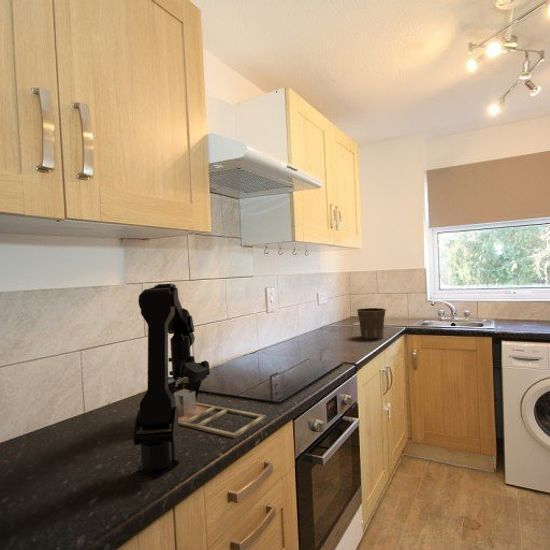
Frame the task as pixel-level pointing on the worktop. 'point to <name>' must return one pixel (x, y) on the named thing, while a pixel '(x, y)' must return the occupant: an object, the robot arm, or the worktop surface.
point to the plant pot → (371, 322)
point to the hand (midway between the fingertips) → (183, 404)
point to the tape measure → (183, 385)
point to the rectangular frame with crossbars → (205, 409)
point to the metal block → (185, 401)
